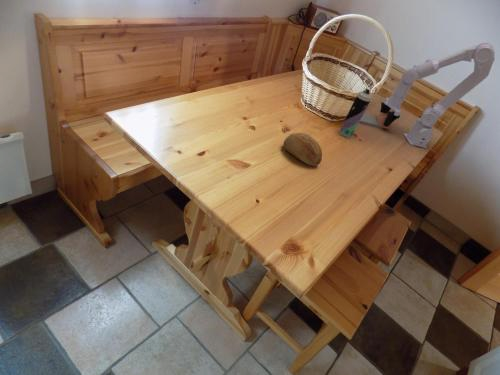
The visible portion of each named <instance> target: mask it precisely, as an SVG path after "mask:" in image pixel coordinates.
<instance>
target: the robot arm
mask: <svg viewBox="0 0 500 375" xmlns="http://www.w3.org/2000/svg"><path fill="white" fill-rule="evenodd" d="M495 54H496V53H495V49H494V47H493V45H492V44H491V43H489V42H482V43H479V44H478V45H472V46H469V47H467V48H463V49H462V50H460V51H457V52H455V53H453V54H450V55H448V56H445V57H444V58H443V57H442V58H441V59H439V60H437V59H426V60H425V62H423V63H420V64H418V65H417V64H414V65H412V66H413V67H409V68H406V70H405V71H403V73H402V75H401V78H400V80H399V82H398V83H397V84H396V86H395V88H394V89H393V92H392V93H391V94H390V97H385V99H384V102H383V101H382V102H380V111H379V113H380V112H382V113H386V114H387V117H386V120H385V122H384V125H383V126H385V127H388V126H389V125H390V124H392V123H394V122H395V121H396V120H398V119H400V117H401V107H400V106H401V105H402V103H404V100H405V98H407V95H408V94H409V92H410V91H411V88H412V85H413V84H414V83H415V82H416V81H417V80H422V79H424V78H427V77H430V76H432V75H435V74H437V73H438V72H439V70H440V69H442V68H445V67H448V66H451V65H453V64H457V63H459V62H462V61H464V62H469V63H471V62H472V59H473V63H474V65H473V72H472V73H470V74H469V75H468V76H467V77H465V78H464V79H463V80H462V81H460V83H458V84H457V85H456V86H454V88H452V89H451V90H450V91H449V92H447V94H446V95H444V96H443V97H442V98H441V99H440V100H438V101H436V102H434V103H433V104H431V105H430V106H426V107H425V108H424V109H423V110H422V115H421V116H420V117H418V118H417V119H416V121H415V122H414V124H413V126H412V127H411V128H410V130H409V132H408V133H405V132H404V133H402V134H403V136H404V137H405V139H406V140H407V142H408V143H409V145H411V146H414V147H415V146H416V147H420V148H424V149H427V144H428V143H429V142H430V140H431V139H432V138H433V135H434V132H433V127H434V126H435V124H436V123H437V121H439V120H438V119H439V118H440V117H442V115H443V114H444V113H445V112H446V111H447V110H448V109H450V107H452V106H454V105H455V104H456V103H457V102H458V101H459V100H461V99H462V98H463V97H464V96H465V95H466V94H468V93H469V92H471V91H472V90H473V89H474V88H475V87H477V86H478V85H479V84H481V83H482V82H483V81H484V80H485V79H487V78H488V76H489V75H490V72H491V69H492V67H493V64H494V62H495V59H496V58H495V57H496V56H495ZM390 126H391V125H390ZM390 126H389V127H390Z"/></svg>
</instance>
